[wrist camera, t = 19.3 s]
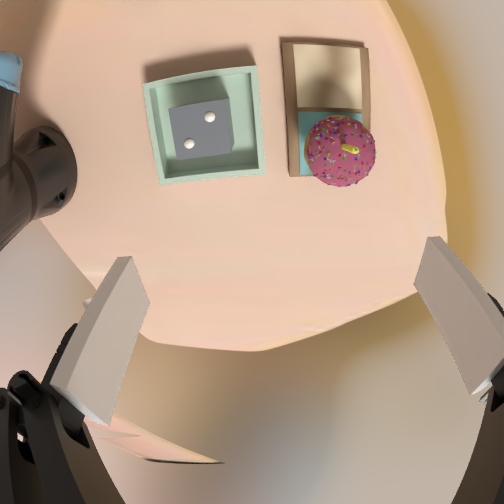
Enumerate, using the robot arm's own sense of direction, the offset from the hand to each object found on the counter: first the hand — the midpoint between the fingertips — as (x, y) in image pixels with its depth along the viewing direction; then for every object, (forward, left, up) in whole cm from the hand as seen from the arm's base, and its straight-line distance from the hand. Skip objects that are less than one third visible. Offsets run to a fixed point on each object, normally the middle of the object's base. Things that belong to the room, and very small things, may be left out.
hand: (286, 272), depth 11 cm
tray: (-7, +3, -27) cm, 28 cm away
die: (-7, +3, -26) cm, 27 cm away
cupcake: (+8, 0, -26) cm, 27 cm away
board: (+9, +4, -27) cm, 28 cm away
